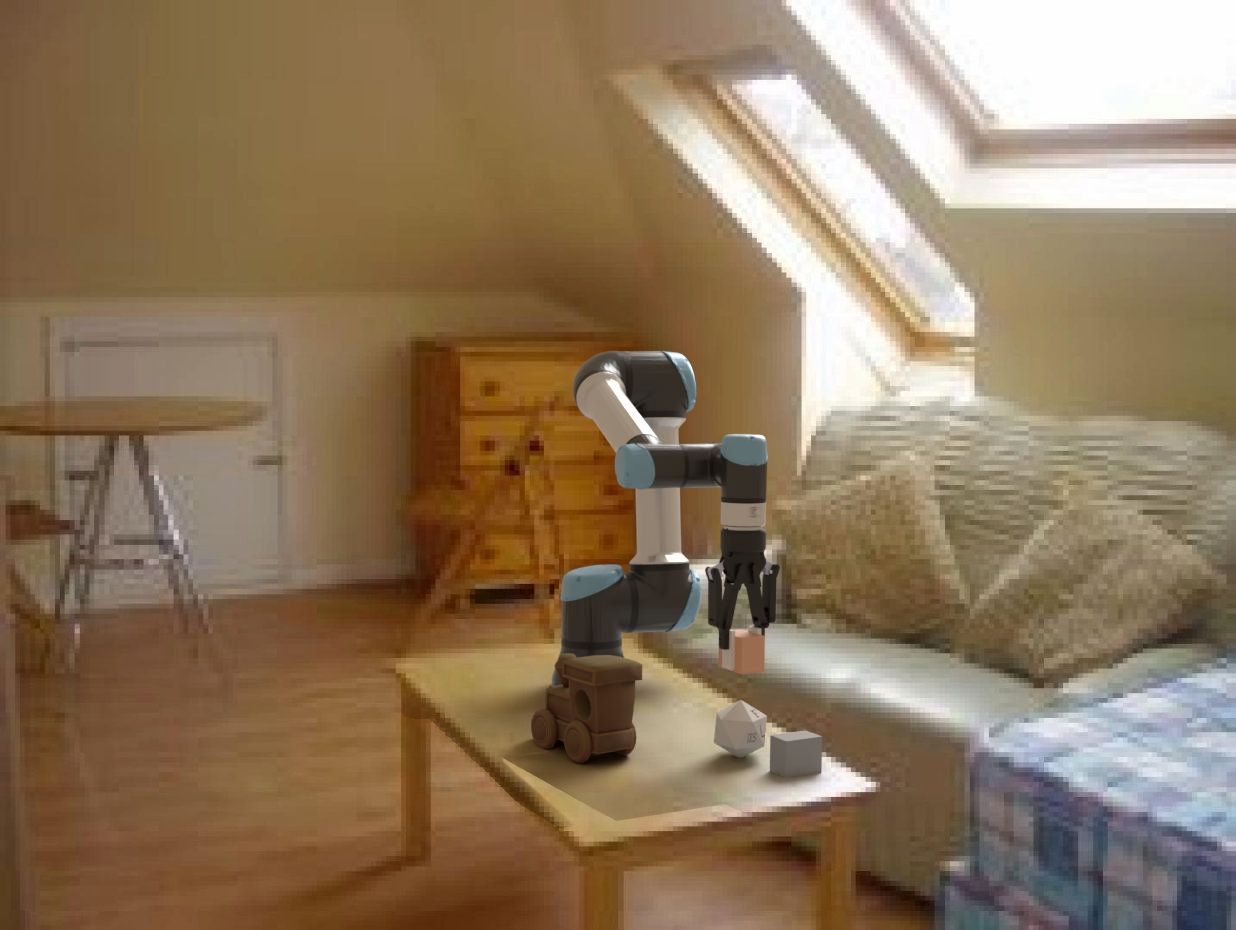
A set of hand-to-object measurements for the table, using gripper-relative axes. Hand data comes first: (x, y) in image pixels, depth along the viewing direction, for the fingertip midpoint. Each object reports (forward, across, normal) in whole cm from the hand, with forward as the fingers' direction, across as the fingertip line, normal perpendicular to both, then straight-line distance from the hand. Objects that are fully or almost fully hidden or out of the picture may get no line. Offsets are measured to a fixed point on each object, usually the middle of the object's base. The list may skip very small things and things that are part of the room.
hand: (741, 666), depth 250 cm
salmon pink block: (0, 0, 0) cm, 0 cm away
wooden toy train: (+16, -22, +15) cm, 31 cm away
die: (+16, 0, 0) cm, 16 cm away
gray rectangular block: (+16, +4, -11) cm, 19 cm away
